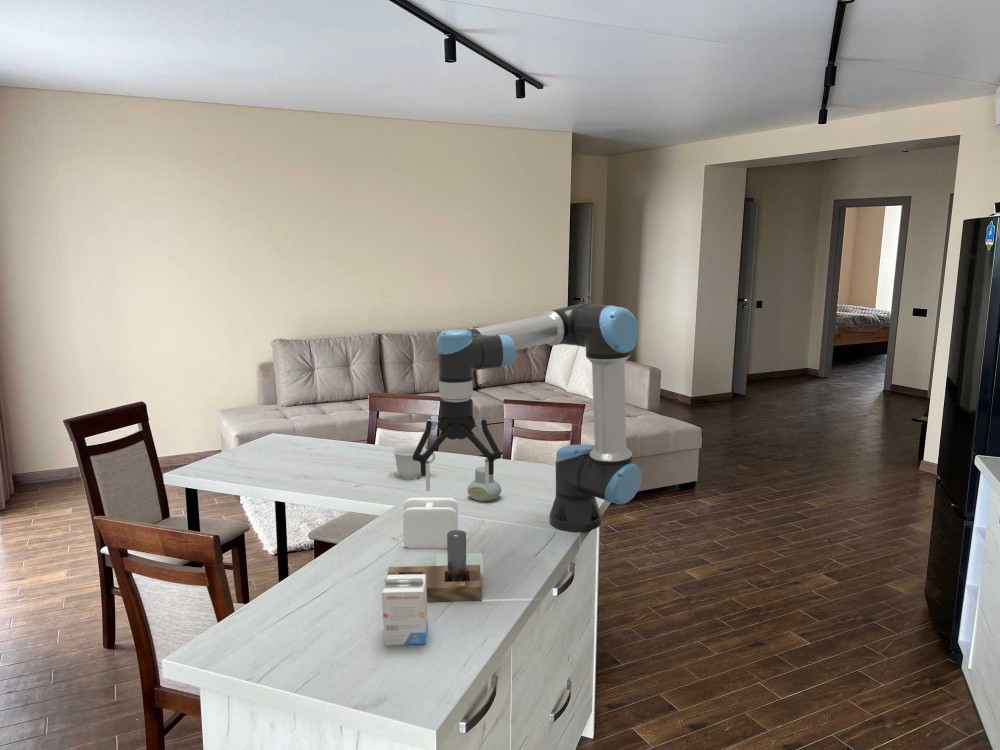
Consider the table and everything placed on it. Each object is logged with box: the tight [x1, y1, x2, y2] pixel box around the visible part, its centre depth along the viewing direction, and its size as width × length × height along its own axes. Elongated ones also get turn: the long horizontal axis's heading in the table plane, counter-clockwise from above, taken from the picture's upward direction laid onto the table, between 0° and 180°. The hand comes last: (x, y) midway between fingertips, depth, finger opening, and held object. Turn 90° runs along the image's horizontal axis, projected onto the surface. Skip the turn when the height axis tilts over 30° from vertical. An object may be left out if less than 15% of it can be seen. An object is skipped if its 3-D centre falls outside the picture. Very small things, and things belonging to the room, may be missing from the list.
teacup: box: [392, 445, 436, 481], centre depth 259 cm, size 12×15×10 cm
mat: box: [435, 552, 485, 574], centre depth 187 cm, size 12×12×1 cm
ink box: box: [381, 574, 429, 646], centre depth 152 cm, size 9×8×13 cm
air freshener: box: [466, 466, 502, 502], centre depth 237 cm, size 11×8×10 cm
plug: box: [446, 529, 467, 582], centre depth 172 cm, size 4×4×14 cm
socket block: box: [386, 565, 482, 604], centre depth 173 cm, size 22×12×4 cm, turn 93°
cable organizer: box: [402, 497, 459, 549], centre depth 201 cm, size 15×11×12 cm
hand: (457, 488), depth 170 cm, fingers open, 13 cm apart
